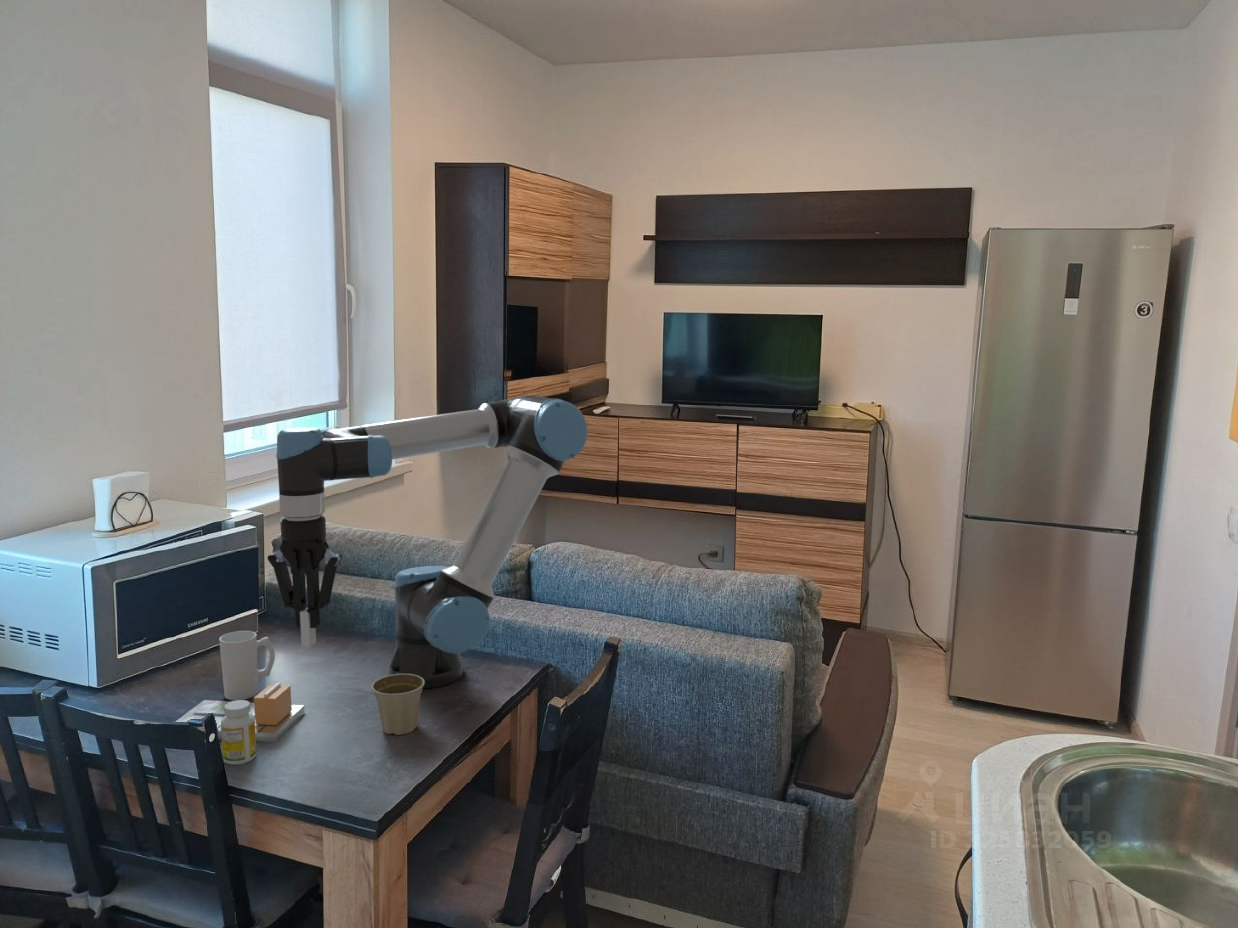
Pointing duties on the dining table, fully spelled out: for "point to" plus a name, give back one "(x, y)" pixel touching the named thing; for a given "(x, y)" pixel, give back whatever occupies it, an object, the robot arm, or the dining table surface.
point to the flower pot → (398, 702)
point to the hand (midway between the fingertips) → (308, 644)
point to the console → (262, 731)
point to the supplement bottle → (238, 733)
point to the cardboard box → (272, 704)
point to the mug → (243, 663)
